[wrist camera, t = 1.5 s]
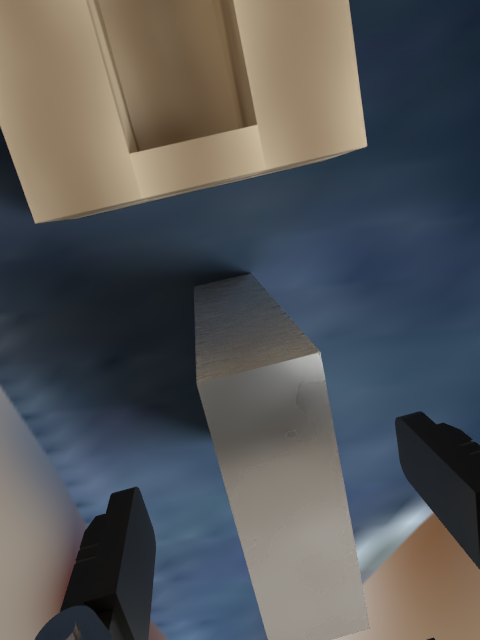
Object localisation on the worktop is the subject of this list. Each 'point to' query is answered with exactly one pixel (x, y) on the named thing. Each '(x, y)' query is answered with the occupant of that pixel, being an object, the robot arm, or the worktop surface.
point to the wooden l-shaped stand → (170, 96)
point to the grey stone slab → (278, 461)
